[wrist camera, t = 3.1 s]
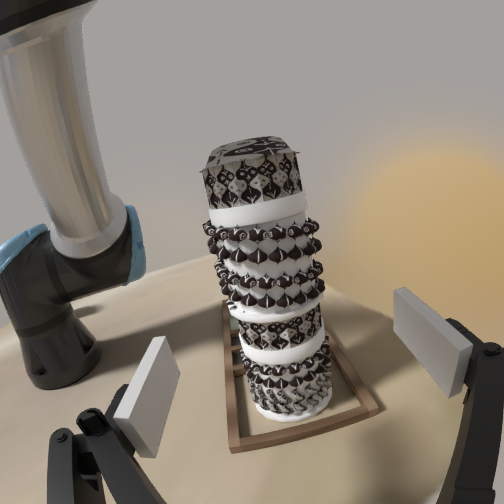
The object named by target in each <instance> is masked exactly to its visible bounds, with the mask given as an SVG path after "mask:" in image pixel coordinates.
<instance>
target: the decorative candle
mask: <svg viewBox="0 0 504 504" xmlns="http://www.w3.org/2000/svg"><path fill="white" fill-rule="evenodd" d="M297 153H300V152H295V151H293V150H291V149H290V148H289V146H288V145H287V144H286V143H285V142H284V141H283V140H282V139H281V138H279V137H273V136H269V137H258V138H252V139H247V140H242V141H237V142H233V143H230V144H226V145H223V146H220V147H218V148H216V149H214V150H213V151H212V153H211V155H210V156H209V160H208V162H207V165H206V168H205V169H203V170H202V171H200V172H202V173H203V178H204V183H205V187H206V192H207V197H208V201H209V205H210V208H208V210H209V215H210V220H209V221H208V222H207V223H205V224H203V228H204V231H205V233H206V234H207V235H209V236H212V237H211V238H210V239H209V240H208V242H207V244H208V246H209V251H210V253H212V254H217V256H218V261H217V262H216V263H215V265H214V266H215V269H216V270H217V276H218V277H219V278H221V279H220V281H219V285H220V286H222V288H221V292H222V293H223V294H224V295H228V296H229V299H228V300H227V301H226V304H227V305H228V308H229V310H230V313H231V315H232V316H234V317H235V318H236V319H237V323H238V327H239V330H240V333H239V338H240V341H241V345H242V348H243V349H241V351H240V355H241V356H242V357H243V358H242V362H243V364H244V365H243V367H244V368H245V369H247V370H246V376H247V382H248V383H249V388H250V392H251V393H252V398H253V401H254V402H255V405H256V407H257V410H258V411H259V412H260V413H261V414H262V415H263V416H265V417H266V418H267V419H270V420H274V421H277V422H281V423H287V422H300V421H303V420H305V419H308V418H311V417H314V416H315V415H317V414H318V413H319V412H321V411H322V410H323V409H324V408H326V407H327V405H328V403H329V401H330V399H331V397H332V386H333V384H332V383H331V382H330V381H329V379H331V378H332V372H331V371H327V370H328V368H330V367H331V366H332V364H331V363H330V361H331V358H330V357H329V356H328V355H329V354H330V349H329V348H330V345H329V343H328V341H329V336H328V335H327V334H325V332H324V322H323V317H322V316H321V312H320V303H319V302H320V301H321V300H322V298H323V297H324V296H323V291H324V290H325V286H324V281H323V280H322V279H319V278H317V277H318V275H320V274H321V273H322V272H323V267H322V264H321V263H320V262H317V261H315V260H314V259H313V260H312V254H314V253H315V254H316V252H318V251H319V250H320V249H321V248H322V245H321V242H320V241H319V240H318V239H315V238H314V237H312V239H311V238H309V235H310V234H312V235H313V234H314V233H315V232H316V231H317V230H318V229H319V224H318V223H317V222H316V221H313V220H311V219H309V218H308V221H306V217H305V210H306V209H307V208H308V207H307V200H306V195H305V190H304V189H302V184H301V179H300V173H299V168H298V164H297V158H296V154H297ZM217 241H219V242H220V247H221V248H219V247H218V245H217ZM224 264H225V267H224ZM225 268H226V269H225ZM228 283H229V284H230V288H231V289H230V288H229V286H228Z"/></svg>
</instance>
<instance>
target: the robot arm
mask: <svg viewBox="0 0 504 504" xmlns="http://www.w3.org/2000/svg"><path fill="white" fill-rule="evenodd" d="M97 1H98V0H0V88H1V92H2V95H3V99H4V103H5V106H6V109H7V113H8V116H9V119H10V122H11V125H12V128H13V131H14V134H15V137H16V139H17V142H18V145H19V148H20V150H21V153H22V156H23V158H24V161H25V163H26V166H27V168H28V170H29V173H30V175H31V177H32V180H33V182H34V184H35V186H36V188H37V191H38V193H39V195H40V197H41V199H42V201H43V203H44V205H45V207H46V209H47V211H48V213H49V215H50V217H51V219H52V224H51V228H50V230H49V231H48V228H47V227H46V225H45V224H39V225H36V226H34V227H32V228H30V229H28V230H26V231H24V232H22V233H20V234H18V235H16V236H15V237H13V238H11V239H9V240H8V241H6V242H5V243H3V244H1V245H0V296H1V298H2V301H3V303H4V306H5V308H6V311H7V313H8V315H9V318H10V319H11V322H12V325H13V327H14V329H15V331H16V333H17V335H18V338H19V340H20V345H21V350H22V355H23V359H24V364H25V368H26V372H27V374H28V376H29V378H30V379H31V381H32V383H33V384H34V385H35V386H36V387H38V388H41V389H55V388H60V387H63V386H66V385H68V384H71V383H73V382H75V381H77V380H78V379H80V378H81V377H83V376H84V375H86V374H87V373H88V372H89V371H90V370H91V369H92V368H93V367H94V366H95V365H96V364H97V362H98V361H99V359H100V356H101V349H100V347H99V345H98V343H97V341H96V339H95V337H94V336H93V335H92V334H91V333H90V331H89V330H88V329H87V328H86V327H85V325H84V324H83V323H82V322H81V321H80V319H79V318H78V317H77V316H76V315H75V313H74V311H73V308H72V306H71V303H70V302H71V301H75V300H77V299H81V298H84V297H87V296H90V295H93V294H96V293H99V292H103V291H106V290H109V289H112V288H116V287H119V286H126V285H128V284H129V283H130V282H133V281H136V280H138V279H140V278H142V277H143V276H144V274H145V271H146V257H145V250H144V246H143V238H142V232H141V227H140V223H139V219H138V215H137V212H136V209H135V208H134V207H133V206H132V205H124V203H123V202H122V200H121V199H120V198H119V197H118V196H117V195H115V194H113V193H111V192H110V190H109V186H108V183H107V179H106V175H105V171H104V167H103V163H102V158H101V154H100V150H99V145H98V140H97V136H96V131H95V126H94V120H93V115H92V109H91V103H90V98H89V91H88V84H87V76H86V68H85V60H84V50H83V39H82V21H83V18H84V17H85V15H86V14H87V13H88V12H89V11H90V10H91V9H92V7H93V6H94V5H95V4H96V3H97ZM393 331H394V332H395V333H396V334H397V336H398V337H399V338H400V339H401V340H402V342H403V343H404V344H405V345H406V346H407V348H408V349H409V350H410V351H411V352H412V354H413V355H414V356H415V357H416V359H417V360H418V361H419V362H420V363H421V365H422V366H423V367H424V368H425V370H426V371H427V372H428V373H429V375H430V376H431V377H432V378H433V380H434V381H435V382H436V384H437V385H438V386H439V387H440V389H441V390H442V391H443V393H444V394H445V395H446V396H447V398H448V399H449V398H451V397H453V396H455V395H457V394H459V393H461V391H462V387H463V384H464V383H465V385H466V386H467V387H468V389H467V392H466V395H465V398H464V401H463V404H464V409H463V415H462V420H461V424H460V429H459V433H458V437H457V441H456V445H455V449H454V452H453V456H452V459H451V463H450V466H449V469H448V472H447V475H446V478H445V481H444V484H443V487H442V489H441V492H440V495H439V497H438V500H437V502H436V504H494V500H495V490H493V489H492V486H493V481H494V477H495V472H496V466H497V461H498V455H499V448H500V441H501V433H502V423H503V408H504V348H502V347H501V346H500V345H498V344H496V343H493V342H488V343H483V342H482V341H481V340H480V339H479V338H477V337H476V336H475V335H474V334H473V333H472V332H470V331H468V329H467V328H466V327H464V326H463V325H462V324H461V323H459V322H458V321H456V320H453V319H451V318H449V319H446V320H445V319H443V318H442V317H441V316H440V315H439V314H437V313H436V312H435V311H434V310H433V309H431V308H430V307H429V306H428V305H427V304H425V303H424V302H423V301H422V300H420V299H419V298H418V297H417V296H415V295H414V294H413V293H412V292H411V291H409V290H408V289H407V288H406V287H403V288H399V289H396V290H394V325H393ZM179 377H180V371H179V369H178V366H177V364H176V361H175V359H174V356H173V354H172V351H171V349H170V346H169V344H168V341H167V338H166V336H161V337H154V338H153V339H152V341H151V343H150V345H149V347H148V349H147V351H146V353H145V355H144V357H143V359H142V360H141V362H140V364H139V366H138V368H137V370H136V372H135V374H134V376H133V378H132V380H131V382H130V384H124V385H123V386H122V387H121V388H119V389H118V390H117V392H116V394H115V396H114V399H113V400H112V402H111V404H110V405H109V407H108V409H107V411H106V413H105V415H103V413H102V412H101V411H100V410H99V409H97V408H90V409H87V410H85V411H83V412H81V413H80V414H79V416H78V417H77V419H76V424H77V425H78V426H79V428H80V429H81V430H82V432H83V434H77V435H74V434H73V433H72V432H71V430H69V429H68V428H60V429H58V430H56V431H55V432H53V434H52V435H51V437H50V441H49V453H48V470H47V504H106V501H105V495H104V489H103V483H102V476H103V478H104V480H105V482H106V484H107V486H108V488H109V490H110V492H111V494H112V496H113V498H114V500H115V501H116V503H117V504H167V503H166V502H165V501H164V499H163V498H162V497H161V495H160V494H159V493H158V491H157V490H156V489H155V487H154V486H153V484H152V483H151V482H150V480H149V479H148V477H147V476H146V474H145V473H144V471H143V470H142V468H141V467H140V465H139V464H138V462H137V461H136V459H135V458H134V457H133V455H134V453H135V450H136V452H137V453H138V454H139V455H140V457H143V458H156V456H157V452H158V448H159V445H160V441H161V438H162V434H163V431H164V427H165V424H166V420H167V417H168V413H169V410H170V407H171V403H172V400H173V396H174V393H175V390H176V387H177V383H178V380H179ZM101 473H102V476H101Z"/></svg>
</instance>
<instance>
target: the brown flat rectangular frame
mask: <svg viewBox="0 0 504 504" xmlns="http://www.w3.org/2000/svg"><path fill="white" fill-rule="evenodd" d="M227 300H228V299H227ZM227 300H223V336H224V364H225V387H226V407H227V425H228V441H229V449H230V451H231V453H238V452H244V451H250V450H256V449H261V448H266V447H271V446H275V445H280V444H284V443H288V442H293V441H297V440H300V439H304V438H308V437H312V436H315V435H319V434H322V433H325V432H329V431H332V430H335V429H338V428H341V427H344V426H347V425H350V424H353V423H356V422H358V421H361V420H364V419H366V418H369V417H372V416H374V415H377V414H378V411H379V407H378V405H377V404H376V402H375V401H374V399H373V398H372V396H371V395H370V393H369V392H368V390H367V388H366V387H365V385H364V384H363V382H362V381H361V379H360V378H359V376H358V375H357V373H356V372H355V370H354V369H353V367H352V366H351V364H350V363H349V362H348V360H347V359H346V357H345V356H344V354H343V353H342V351H341V350H340V348H339V347H338V345H337V344H336V342H335V341H334V339H333V338H332V336H331V335H330V333H329V332H328V330H327V329H326V327H325V326H324V332H325V334H327V335H328V336H329V341H328V343H329V345H330V348H329V349H330V354H331V356H332V357H333V359H334V361H335V362H336V364H337V365H338V367H339V369H340V370H341V372H342V374H343V375H344V377H345V379H346V380H347V382H348V384H349V385H350V387H351V389H352V390H353V392H354V394H355V395H356V397H357V399H358V400H359V402H360V404H361V405H362V406H360V407H357V408H354V409H351V410H348V411H345V412H342V413H339V414H336V415H333V416H330V417H327V418H323V419H320V420H317V421H313V422H309V423H306V424H302V425H298V426H294V427H290V428H286V429H282V430H278V431H273V432H269V433H264V434H259V435H254V436H249V437H243V438H241V434H240V425H239V415H238V405H237V394H236V384H235V376H239V375H244V374H246V370H247V369H245V368H244V367H243V365H244V364H243V362H242V358H243V357H242V356H241V355H240V351H241V349H243V348H242V345H241V341H240V338H239V333H240V330H239V327H238V323H237V319H236V318H235V317H234V316H232V315H231V313H230V310H229V308H228V305H227V304H226V301H227Z"/></svg>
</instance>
